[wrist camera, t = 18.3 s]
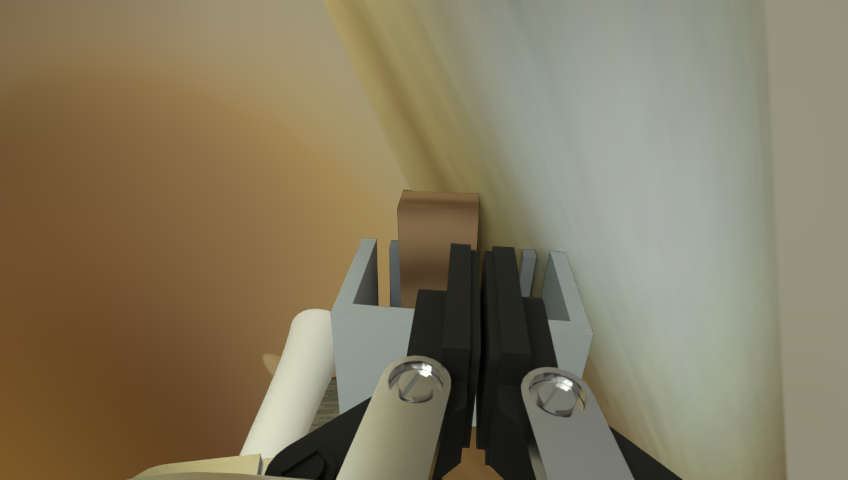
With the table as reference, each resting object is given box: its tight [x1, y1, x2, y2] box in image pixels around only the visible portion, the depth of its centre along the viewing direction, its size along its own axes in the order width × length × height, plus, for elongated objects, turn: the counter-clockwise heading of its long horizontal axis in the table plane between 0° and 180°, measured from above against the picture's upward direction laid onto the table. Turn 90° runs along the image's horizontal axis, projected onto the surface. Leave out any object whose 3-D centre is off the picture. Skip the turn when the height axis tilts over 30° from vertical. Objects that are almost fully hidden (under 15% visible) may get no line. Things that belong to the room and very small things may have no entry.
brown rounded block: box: [397, 190, 479, 309], centre depth 38 cm, size 11×6×4 cm, turn 1°
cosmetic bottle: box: [240, 309, 336, 459], centre depth 35 cm, size 6×6×22 cm
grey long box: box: [330, 238, 593, 426], centre depth 36 cm, size 10×17×10 cm, turn 88°
